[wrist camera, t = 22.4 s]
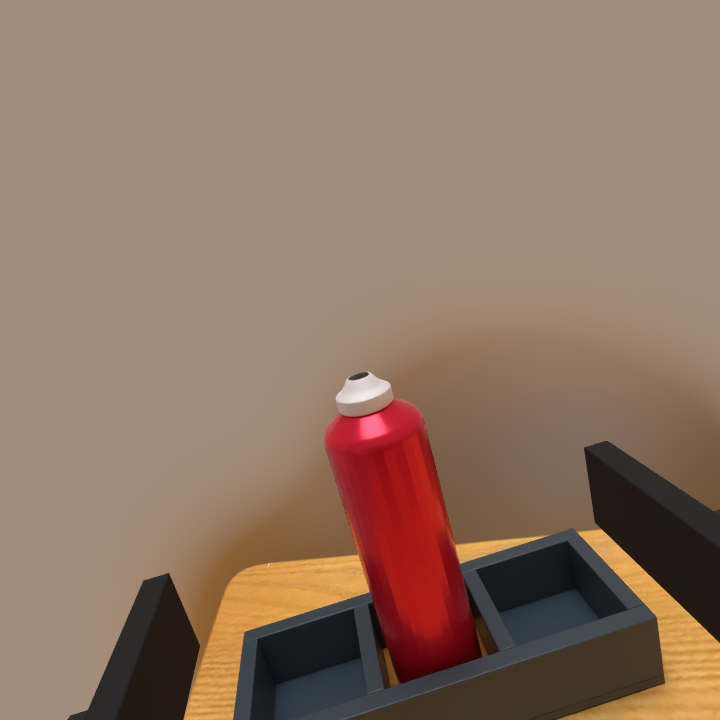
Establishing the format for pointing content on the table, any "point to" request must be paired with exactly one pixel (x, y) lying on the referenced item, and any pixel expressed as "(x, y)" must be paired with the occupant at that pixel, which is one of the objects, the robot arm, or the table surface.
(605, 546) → the table surface
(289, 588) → the table surface
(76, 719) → the robot arm
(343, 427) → the bottle
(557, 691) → the rack
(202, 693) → the table surface
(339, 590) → the table surface
